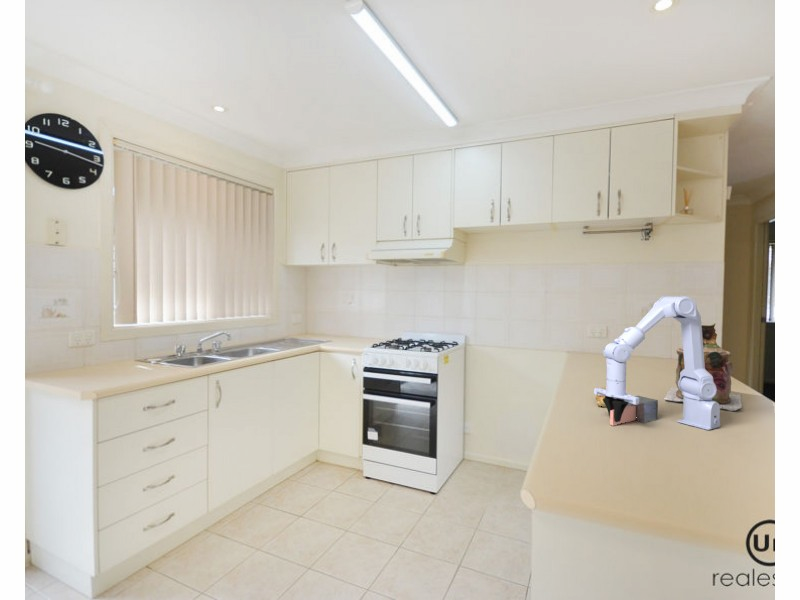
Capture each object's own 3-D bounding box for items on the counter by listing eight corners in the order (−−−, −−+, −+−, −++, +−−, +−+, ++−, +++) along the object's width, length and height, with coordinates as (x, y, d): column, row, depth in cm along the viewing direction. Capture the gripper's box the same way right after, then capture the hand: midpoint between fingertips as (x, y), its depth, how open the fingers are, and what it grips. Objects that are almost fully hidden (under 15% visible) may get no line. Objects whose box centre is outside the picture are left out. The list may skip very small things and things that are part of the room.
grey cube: (657, 419, 139) (657, 400, 139) (643, 423, 135) (644, 403, 135) (637, 414, 145) (638, 395, 145) (624, 417, 141) (624, 398, 141)
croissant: (607, 419, 151) (618, 402, 148) (583, 401, 157) (593, 385, 154) (625, 406, 165) (636, 391, 162) (603, 391, 172) (612, 376, 169)
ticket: (636, 419, 138) (636, 405, 138) (612, 425, 132) (613, 411, 132) (633, 419, 139) (633, 405, 139) (609, 424, 133) (610, 410, 133)
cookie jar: (669, 390, 182) (671, 319, 181) (741, 400, 166) (743, 323, 166) (662, 401, 163) (664, 322, 162) (742, 413, 147) (745, 326, 147)
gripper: (588, 376, 137) (587, 416, 138) (630, 385, 125) (629, 429, 125) (601, 374, 141) (600, 413, 141) (643, 383, 128) (642, 425, 128)
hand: (615, 420), depth 133 cm, fingers closed, pressing on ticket
